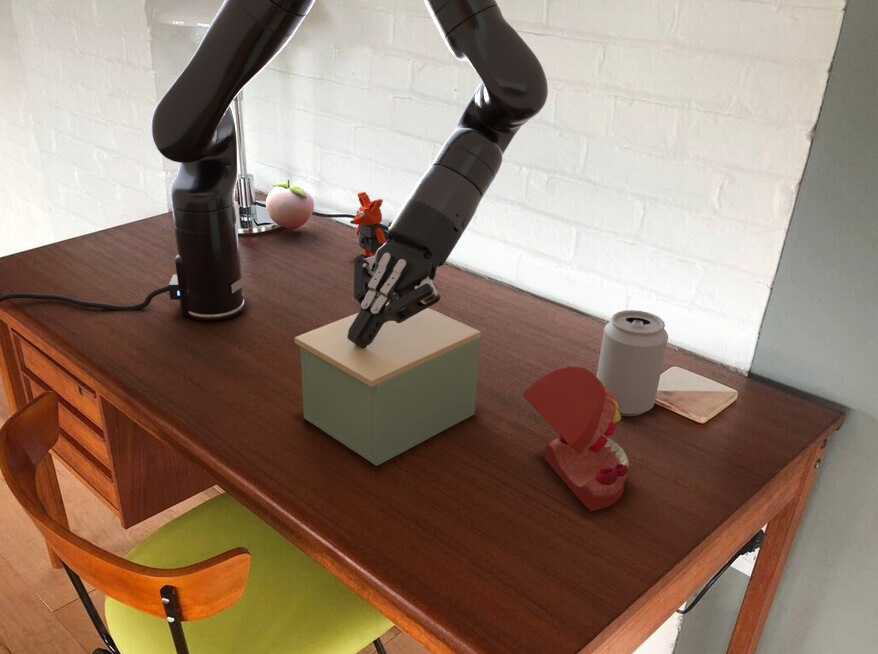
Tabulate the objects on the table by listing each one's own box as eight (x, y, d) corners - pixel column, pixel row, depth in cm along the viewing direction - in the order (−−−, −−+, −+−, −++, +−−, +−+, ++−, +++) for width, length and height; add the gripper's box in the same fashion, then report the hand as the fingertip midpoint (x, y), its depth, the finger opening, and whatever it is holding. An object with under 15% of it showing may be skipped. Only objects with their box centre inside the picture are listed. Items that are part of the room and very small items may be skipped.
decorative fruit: (257, 232, 161) (254, 181, 155) (284, 220, 166) (281, 171, 161) (295, 242, 156) (293, 190, 151) (322, 229, 162) (320, 179, 157)
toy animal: (338, 260, 148) (337, 194, 142) (363, 253, 151) (363, 188, 145) (364, 274, 143) (364, 206, 137) (389, 267, 145) (390, 200, 139)
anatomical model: (659, 490, 89) (632, 388, 81) (597, 528, 89) (564, 429, 80) (602, 440, 98) (573, 343, 90) (546, 474, 97) (511, 379, 89)
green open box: (376, 466, 95) (377, 384, 89) (303, 418, 103) (299, 341, 98) (474, 414, 104) (480, 337, 99) (400, 374, 113) (401, 301, 107)
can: (654, 394, 108) (671, 311, 102) (651, 424, 102) (669, 337, 96) (595, 385, 110) (609, 302, 104) (589, 413, 104) (603, 328, 98)
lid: (371, 387, 89) (371, 380, 88) (294, 343, 98) (294, 337, 97) (480, 337, 99) (481, 331, 98) (401, 301, 107) (401, 295, 107)
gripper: (379, 185, 97) (300, 310, 96) (463, 212, 88) (377, 350, 87) (410, 219, 102) (336, 337, 102) (492, 247, 94) (412, 377, 93)
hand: (355, 343), depth 94 cm, fingers closed
